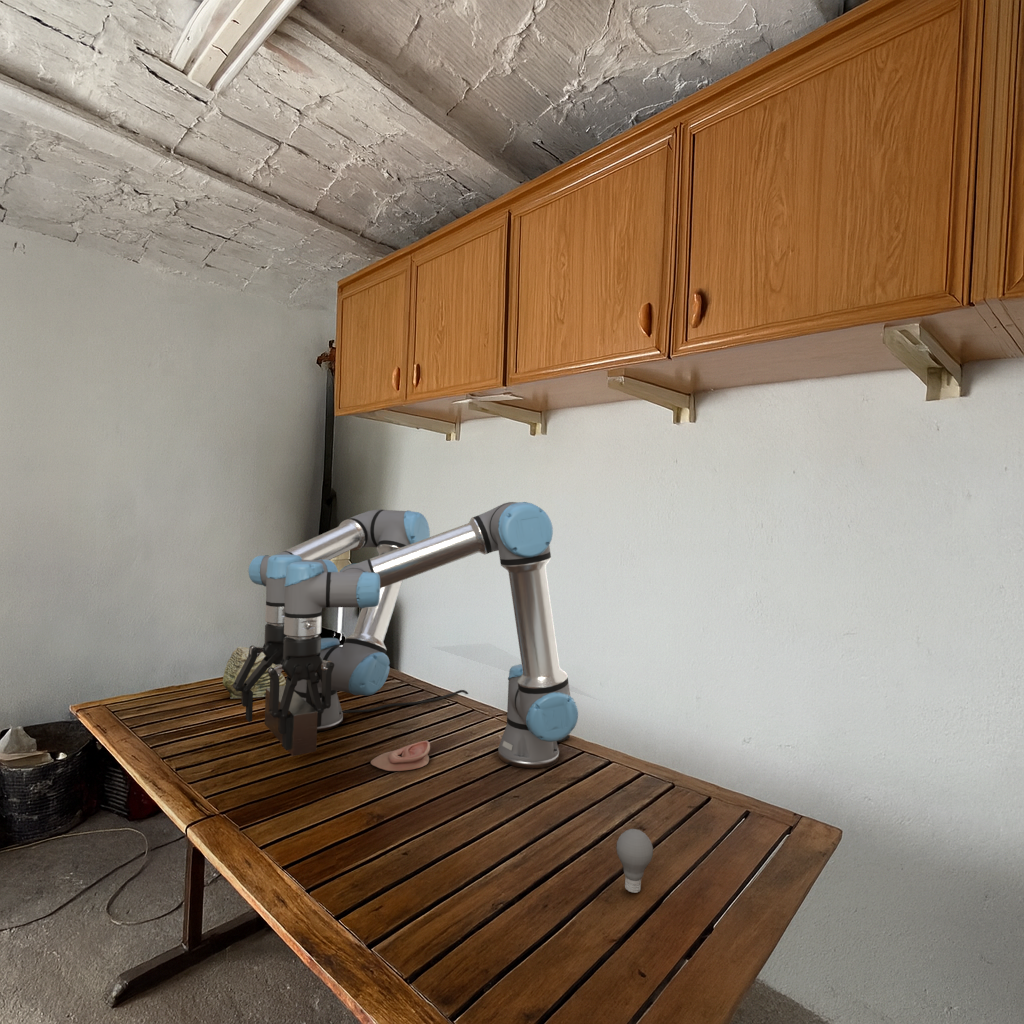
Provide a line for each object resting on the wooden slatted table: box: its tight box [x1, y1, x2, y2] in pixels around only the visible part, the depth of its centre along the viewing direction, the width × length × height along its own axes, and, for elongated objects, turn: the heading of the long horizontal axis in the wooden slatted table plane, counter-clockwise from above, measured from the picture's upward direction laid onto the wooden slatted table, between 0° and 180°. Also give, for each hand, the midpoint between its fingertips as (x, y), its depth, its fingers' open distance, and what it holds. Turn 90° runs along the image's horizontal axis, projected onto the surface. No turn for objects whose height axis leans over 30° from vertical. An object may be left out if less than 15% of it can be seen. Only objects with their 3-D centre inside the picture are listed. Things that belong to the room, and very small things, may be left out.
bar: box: [264, 685, 318, 757], centre depth 139 cm, size 21×5×8 cm, turn 36°
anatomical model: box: [370, 740, 431, 772], centre depth 153 cm, size 13×4×12 cm
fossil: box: [222, 646, 286, 699], centre depth 198 cm, size 9×18×15 cm, turn 132°
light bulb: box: [615, 828, 654, 894], centre depth 106 cm, size 6×6×10 cm
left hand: (279, 714), depth 145 cm, fingers open, 13 cm apart
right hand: (299, 744), depth 134 cm, fingers closed on bar, 5 cm apart
